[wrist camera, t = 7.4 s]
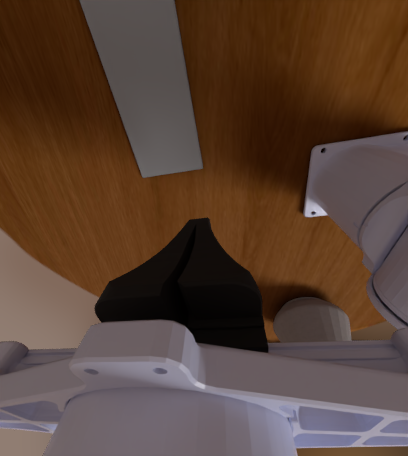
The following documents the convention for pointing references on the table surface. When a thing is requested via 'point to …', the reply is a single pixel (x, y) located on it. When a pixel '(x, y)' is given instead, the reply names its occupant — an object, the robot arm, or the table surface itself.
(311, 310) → the coffee pot
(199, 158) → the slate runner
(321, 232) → the table surface
